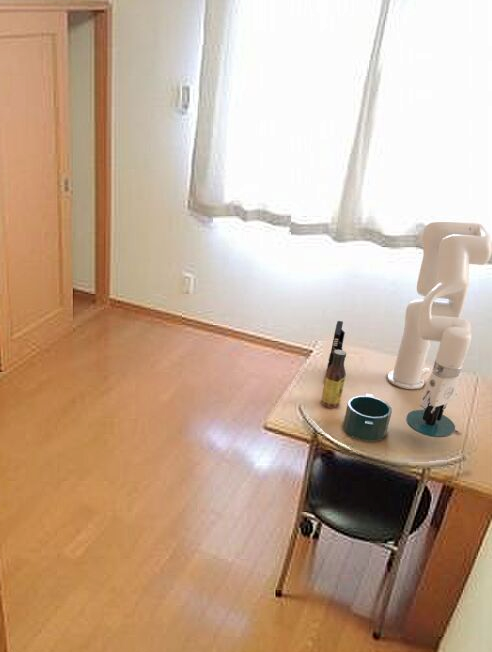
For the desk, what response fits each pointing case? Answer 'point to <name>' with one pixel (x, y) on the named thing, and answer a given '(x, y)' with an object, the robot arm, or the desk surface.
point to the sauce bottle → (334, 380)
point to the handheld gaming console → (336, 341)
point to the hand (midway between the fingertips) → (431, 419)
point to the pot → (367, 417)
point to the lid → (435, 429)
